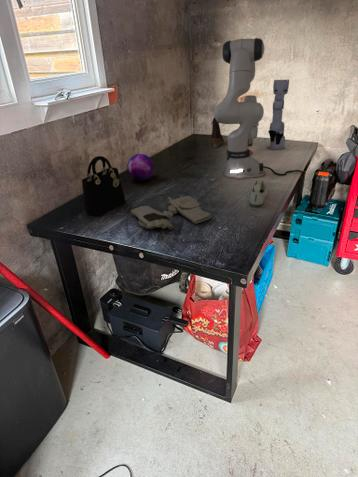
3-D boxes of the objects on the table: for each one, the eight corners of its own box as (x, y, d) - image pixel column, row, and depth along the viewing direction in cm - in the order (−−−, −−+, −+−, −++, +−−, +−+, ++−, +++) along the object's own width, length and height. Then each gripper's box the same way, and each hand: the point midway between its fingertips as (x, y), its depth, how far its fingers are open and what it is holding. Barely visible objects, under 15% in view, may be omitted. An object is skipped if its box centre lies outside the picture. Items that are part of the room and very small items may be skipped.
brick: (250, 144, 228) (250, 138, 226) (252, 146, 225) (252, 139, 223) (243, 145, 227) (243, 138, 225) (245, 146, 224) (245, 140, 222)
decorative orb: (160, 177, 192) (157, 152, 184) (144, 186, 181) (141, 159, 174) (139, 174, 199) (137, 149, 192) (123, 182, 189) (119, 156, 181)
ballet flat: (269, 188, 169) (270, 173, 165) (265, 208, 149) (266, 191, 145) (252, 187, 171) (253, 172, 167) (246, 206, 151) (247, 190, 147)
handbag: (98, 217, 149) (87, 164, 137) (84, 214, 154) (72, 161, 141) (127, 201, 164) (120, 151, 152) (113, 198, 169) (105, 149, 156)
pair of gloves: (147, 237, 131) (146, 225, 129) (129, 213, 152) (128, 202, 149) (214, 220, 141) (214, 209, 138) (188, 199, 162) (188, 189, 159)
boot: (224, 140, 260) (225, 113, 250) (221, 148, 240) (222, 119, 230) (213, 140, 262) (213, 113, 252) (210, 148, 242) (209, 119, 232)
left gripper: (239, 119, 226) (238, 139, 233) (250, 124, 209) (249, 146, 216) (247, 118, 227) (246, 138, 234) (259, 123, 210) (258, 145, 217)
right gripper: (265, 119, 212) (264, 141, 219) (276, 123, 200) (274, 146, 207) (276, 118, 213) (274, 139, 220) (287, 122, 201) (284, 145, 208)
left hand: (248, 142), depth 225 cm, fingers closed on brick, 4 cm apart
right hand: (274, 142), depth 213 cm, fingers open, 7 cm apart
